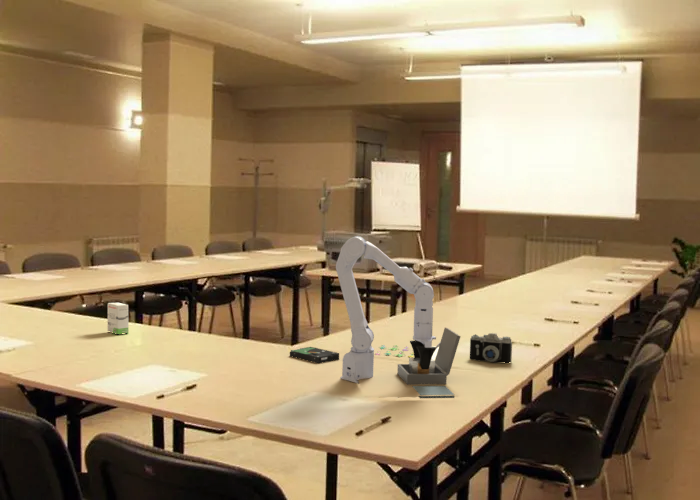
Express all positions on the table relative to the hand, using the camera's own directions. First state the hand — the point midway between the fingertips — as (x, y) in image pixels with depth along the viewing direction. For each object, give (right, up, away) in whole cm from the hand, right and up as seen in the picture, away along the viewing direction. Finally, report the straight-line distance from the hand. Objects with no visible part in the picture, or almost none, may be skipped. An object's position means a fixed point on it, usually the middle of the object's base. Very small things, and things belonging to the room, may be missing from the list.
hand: (421, 366), depth 234 cm
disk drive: (-35, -2, +31) cm, 46 cm away
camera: (+27, -4, +33) cm, 42 cm away
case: (+2, -5, +1) cm, 5 cm away
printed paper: (-5, -2, +45) cm, 45 cm away
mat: (+2, -6, -14) cm, 15 cm away
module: (0, -4, 0) cm, 4 cm away
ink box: (-114, +3, +66) cm, 131 cm away
